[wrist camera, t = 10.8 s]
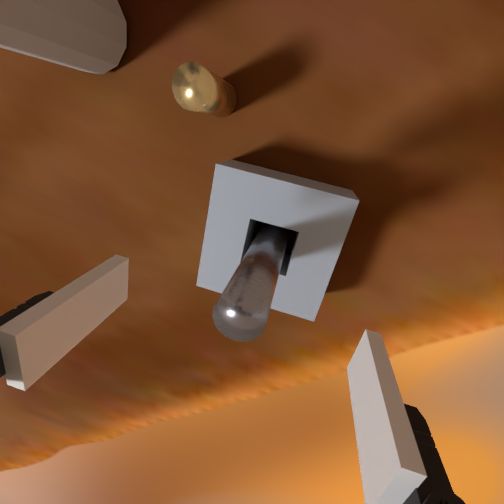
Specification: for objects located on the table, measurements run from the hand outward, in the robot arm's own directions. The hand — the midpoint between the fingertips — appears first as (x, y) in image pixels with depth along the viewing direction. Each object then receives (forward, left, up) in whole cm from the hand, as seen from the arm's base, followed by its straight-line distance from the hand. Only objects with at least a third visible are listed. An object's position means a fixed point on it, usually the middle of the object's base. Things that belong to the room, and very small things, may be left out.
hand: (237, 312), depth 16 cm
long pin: (0, 0, -16) cm, 16 cm away
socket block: (0, 0, -16) cm, 16 cm away
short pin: (-11, -8, -16) cm, 21 cm away
